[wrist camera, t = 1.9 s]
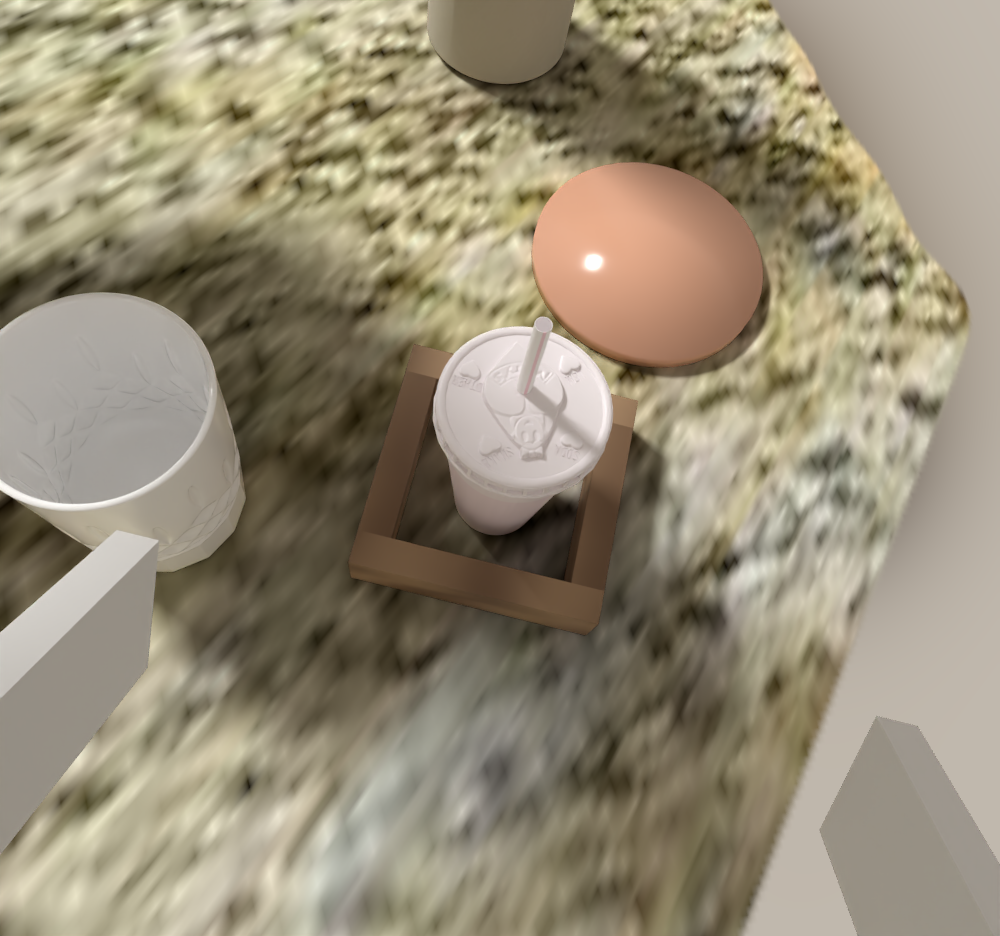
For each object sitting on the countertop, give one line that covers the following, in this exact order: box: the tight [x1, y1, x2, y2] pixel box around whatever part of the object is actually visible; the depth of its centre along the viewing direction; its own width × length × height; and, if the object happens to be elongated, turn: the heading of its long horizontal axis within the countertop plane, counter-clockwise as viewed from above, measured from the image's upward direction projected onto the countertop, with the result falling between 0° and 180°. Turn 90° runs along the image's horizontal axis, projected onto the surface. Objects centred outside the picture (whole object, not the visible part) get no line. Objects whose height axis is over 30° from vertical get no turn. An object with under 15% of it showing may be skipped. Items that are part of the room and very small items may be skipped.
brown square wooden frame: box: [348, 344, 638, 635], centre depth 37 cm, size 10×10×2 cm
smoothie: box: [433, 317, 613, 535], centre depth 32 cm, size 6×6×14 cm
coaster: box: [531, 162, 763, 368], centre depth 44 cm, size 12×12×1 cm
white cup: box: [0, 292, 246, 572], centre depth 32 cm, size 8×8×10 cm
